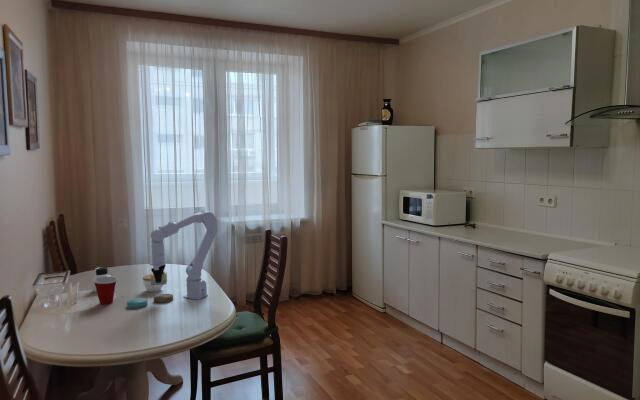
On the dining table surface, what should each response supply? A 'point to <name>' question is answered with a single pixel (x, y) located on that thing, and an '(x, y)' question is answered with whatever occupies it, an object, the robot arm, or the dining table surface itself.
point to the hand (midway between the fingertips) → (159, 281)
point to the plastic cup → (105, 289)
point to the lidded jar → (148, 284)
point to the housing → (163, 279)
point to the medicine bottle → (100, 275)
